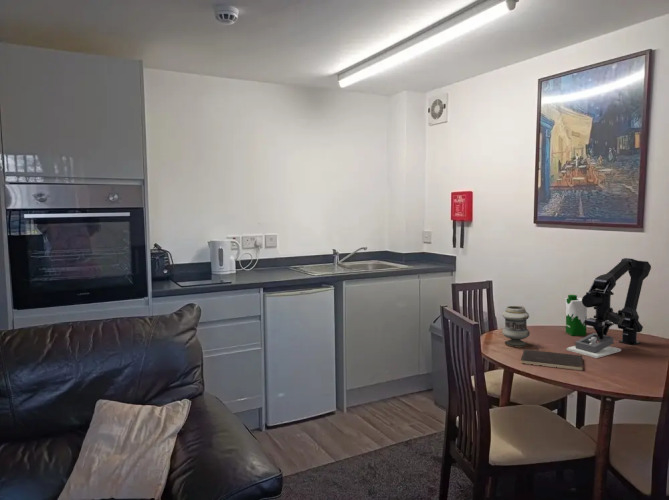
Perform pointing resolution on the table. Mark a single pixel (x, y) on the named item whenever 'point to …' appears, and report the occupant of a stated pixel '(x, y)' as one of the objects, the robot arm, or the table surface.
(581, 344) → the grey rectangular frame
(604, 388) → the table surface
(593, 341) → the hook board
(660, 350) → the table surface
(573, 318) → the milk carton
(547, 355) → the hardcover book
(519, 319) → the apothecary jar
